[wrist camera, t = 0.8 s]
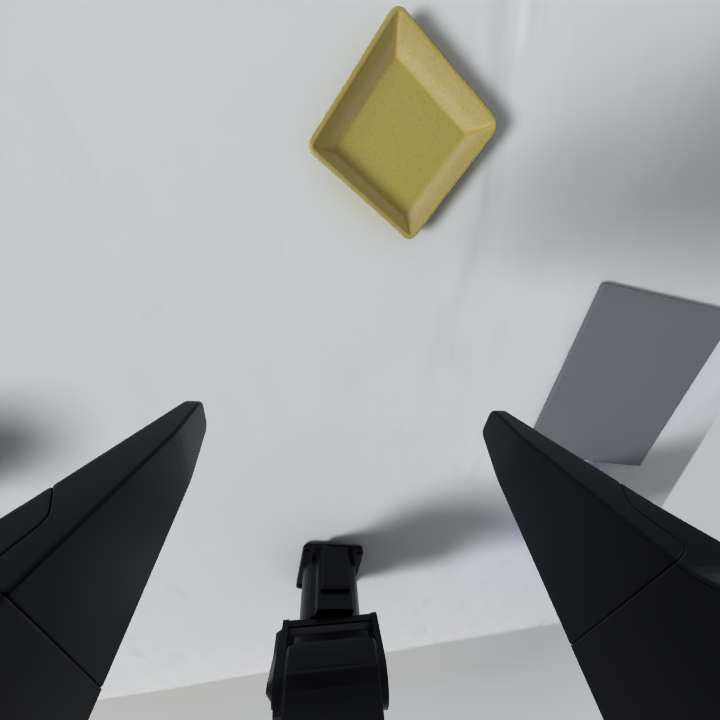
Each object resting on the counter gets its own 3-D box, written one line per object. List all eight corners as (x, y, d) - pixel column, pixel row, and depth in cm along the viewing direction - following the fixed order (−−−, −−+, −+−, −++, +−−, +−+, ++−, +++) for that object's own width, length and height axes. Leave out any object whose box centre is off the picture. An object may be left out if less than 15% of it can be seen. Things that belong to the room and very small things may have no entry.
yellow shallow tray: (306, 155, 20) (304, 146, 18) (390, 23, 18) (397, -4, 16) (403, 242, 23) (410, 242, 21) (485, 135, 21) (502, 124, 19)
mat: (635, 463, 33) (639, 465, 33) (523, 450, 31) (525, 453, 30) (731, 312, 27) (736, 313, 27) (601, 282, 25) (605, 283, 25)
